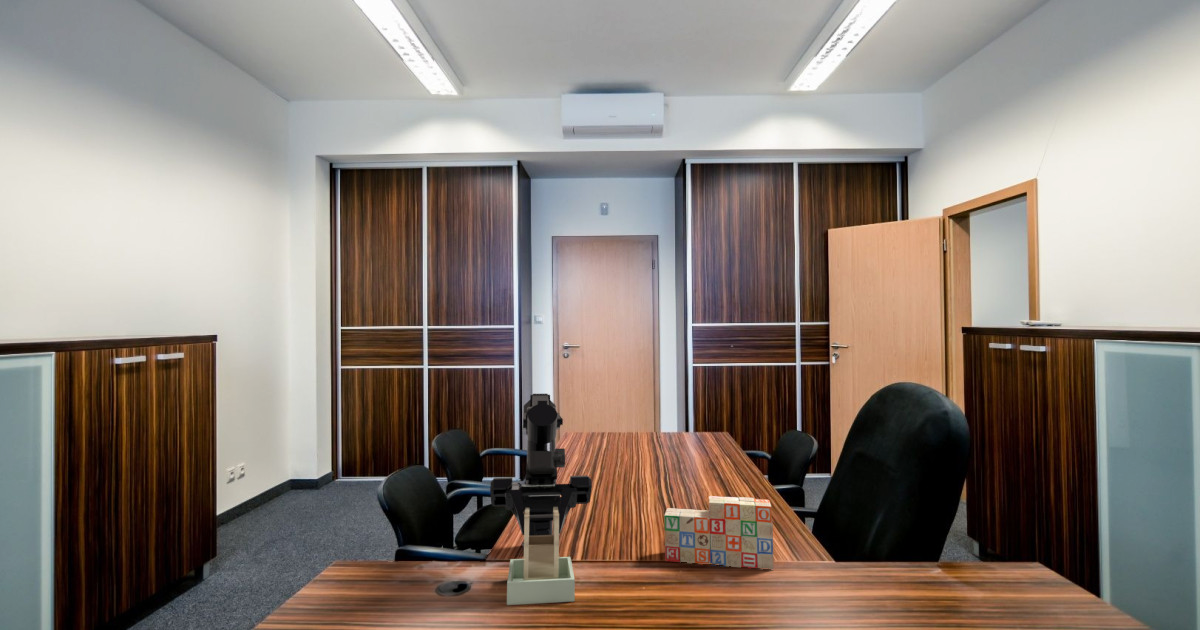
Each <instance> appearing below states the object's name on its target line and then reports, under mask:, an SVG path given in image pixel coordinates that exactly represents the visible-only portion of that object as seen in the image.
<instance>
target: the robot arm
mask: <svg viewBox="0 0 1200 630" xmlns="http://www.w3.org/2000/svg"><path fill="white" fill-rule="evenodd" d="M529 397H530V399H529V400H528V401H527V402H526V403H525V404H524V405H523V410H522V411H523V412H522V413H523V415H522V416H523V417H522V418H523V419H522V424H523V425H522V429H523V431H525V434H526V436H527V446H526V452H527V453H526V466H525V467H526V468H525V481H524V483H523V484H521V483H520V482H516V481H515V482H513V477H512V476H511V477H509V476H508V477H494V478H493V479H492V480H491V481H490V486H489V487H490V489H489V491H490V503H491V504H490V505H491V506H492V507H494V508H495V507H505V509H506V510H508V511H511V512H512V514H513V515H514V517H515V519H516V520H517V524H518V526H519V530H520V532H521V535H522V536H524V516H525V508H529V536H536V535H553V507H558V512H559V535H560V534H561V532H562V529H563V526H564V524H565V520H566V517H567V516H568V514H569V512H570V510H571V509H573V508H576V507H577V505H585V504H586V505H587V504H589V503H590V502H591V495H592V490H593V489H592V487H593V484H592V483H593V482H592V478H591V477H590V476H589V475H570V477H569V483H557V480H558V468H559V469H560V468H566V467H565V466H566V449H565V448H556V437H557V430H560V429H561V426H563V423H564V420H563V418H562V416H561V415H560V413H559V412H557V407H556V404H555V403H554V402H553V400H552V399H551V395H550V394H549V393H532V394H530V396H529ZM521 546H522V548H524V542H521Z"/></svg>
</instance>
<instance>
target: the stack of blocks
mask: <svg viewBox="0 0 1200 630" xmlns="http://www.w3.org/2000/svg"><path fill="white" fill-rule="evenodd" d="M772 511H773V510H772V504H771V501H770V500H769V499H764V498H762V499H760V498H754V497H746V496H745V497H743V496H739V497H737V496H734V497H733V496H717V495H715V496H713V495H709V496H708V510H705V509H701V510H700V509H690V508H689V509H688V508H687V509H686V508H674V507H671V508H670V507H667V508H666V510H665V513H664V517H663V518H664V561H665V562H673V563H681V562H687V563H686V564H692V563H709V564H710V563H712V564H719V565H724V566H723V567H729V566H731V567H732V568H741V567H748V568H747V569H751V568H768V569H769V568H770V569H774V567H775V566H774V565H775V564H774V539H773V538H774V525H773V523H774V522H773V519H772V518H773V516H772V514H773V513H772ZM774 570H775V569H774Z"/></svg>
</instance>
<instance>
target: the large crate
mask: <svg viewBox="0 0 1200 630" xmlns="http://www.w3.org/2000/svg"><path fill="white" fill-rule="evenodd" d="M509 560H510V561H509V567H508V575H507V582H506V606H514V605H533V604H549V603H551V604H553V603H554V604H555V603H567V602H568V603H569V602H575V600H576V599H575V598H576V597H575V596H576V595H575V592H576V591H575V589H576V588H575V587H576V584H575V583H576V582H575V581H576V579H575V574H574V568H573V563H572V559H571V556H559V579H544V580H523V578H524V558H514V559H511V558H510V559H509Z"/></svg>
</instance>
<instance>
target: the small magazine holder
mask: <svg viewBox="0 0 1200 630" xmlns="http://www.w3.org/2000/svg"><path fill="white" fill-rule="evenodd" d="M523 543H524V547H523V559H524V578H523V580H544V579H559V557H560V553H559V552H560V548H559V547H560V534H559V512H558V507H553V524H552V535H536V536H529V508H525V516H524V535H523Z"/></svg>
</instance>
